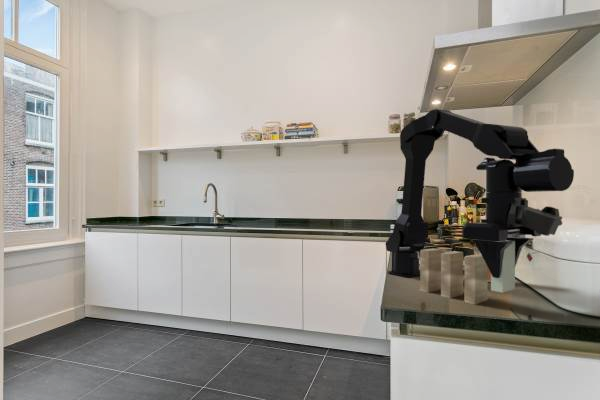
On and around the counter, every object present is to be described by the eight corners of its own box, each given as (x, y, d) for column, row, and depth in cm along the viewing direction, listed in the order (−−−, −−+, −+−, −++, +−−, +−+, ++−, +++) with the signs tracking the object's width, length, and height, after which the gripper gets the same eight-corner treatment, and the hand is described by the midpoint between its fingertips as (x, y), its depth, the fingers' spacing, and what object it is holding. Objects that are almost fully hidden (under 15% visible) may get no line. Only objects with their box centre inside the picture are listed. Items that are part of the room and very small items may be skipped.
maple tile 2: (440, 295, 69) (441, 253, 69) (453, 292, 72) (454, 251, 72) (450, 298, 67) (450, 254, 67) (462, 294, 70) (463, 252, 70)
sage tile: (514, 288, 62) (515, 241, 62) (502, 292, 59) (502, 242, 59) (503, 286, 64) (503, 240, 64) (490, 290, 61) (491, 241, 61)
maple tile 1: (420, 290, 73) (420, 250, 73) (433, 287, 76) (433, 248, 76) (428, 292, 71) (428, 251, 72) (441, 289, 74) (441, 249, 74)
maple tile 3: (464, 301, 65) (464, 256, 65) (477, 297, 68) (477, 254, 68) (474, 304, 63) (474, 257, 63) (487, 300, 66) (487, 255, 66)
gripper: (532, 190, 50) (532, 293, 50) (574, 193, 60) (573, 278, 60) (460, 191, 59) (460, 279, 59) (508, 193, 70) (507, 267, 69)
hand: (502, 275), depth 62 cm, fingers closed on sage tile, 5 cm apart
